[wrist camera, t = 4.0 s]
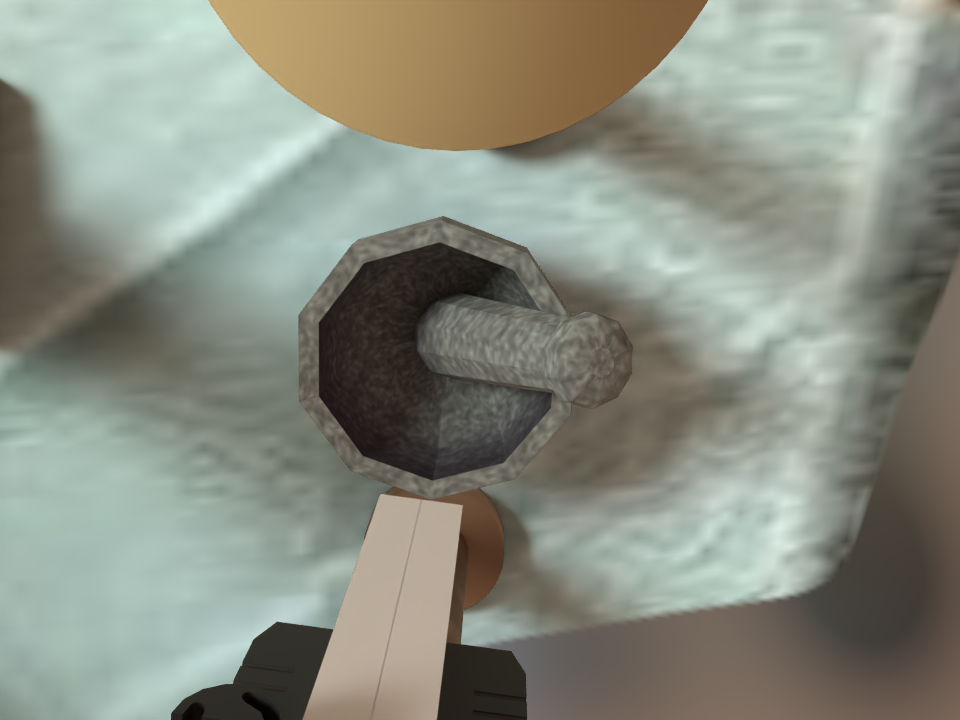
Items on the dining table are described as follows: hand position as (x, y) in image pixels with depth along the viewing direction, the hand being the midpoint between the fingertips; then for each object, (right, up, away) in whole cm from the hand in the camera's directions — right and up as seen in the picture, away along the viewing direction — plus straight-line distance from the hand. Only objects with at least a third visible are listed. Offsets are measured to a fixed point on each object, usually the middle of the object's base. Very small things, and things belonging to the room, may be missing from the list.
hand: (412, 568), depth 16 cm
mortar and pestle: (+1, +6, +21) cm, 22 cm away
